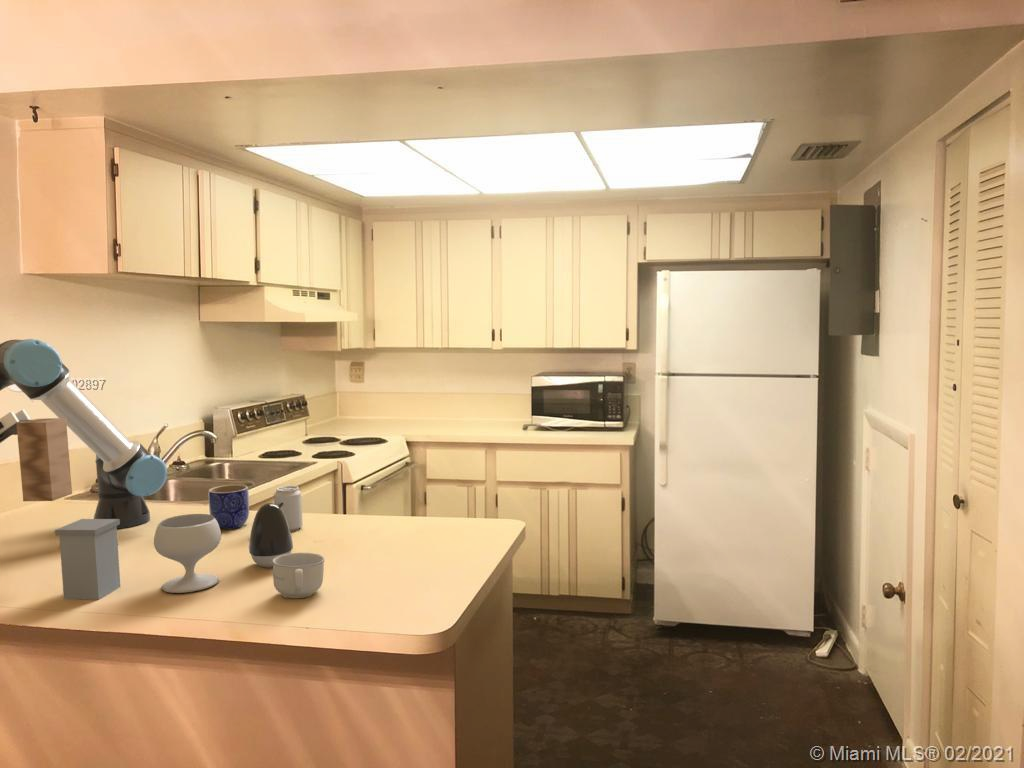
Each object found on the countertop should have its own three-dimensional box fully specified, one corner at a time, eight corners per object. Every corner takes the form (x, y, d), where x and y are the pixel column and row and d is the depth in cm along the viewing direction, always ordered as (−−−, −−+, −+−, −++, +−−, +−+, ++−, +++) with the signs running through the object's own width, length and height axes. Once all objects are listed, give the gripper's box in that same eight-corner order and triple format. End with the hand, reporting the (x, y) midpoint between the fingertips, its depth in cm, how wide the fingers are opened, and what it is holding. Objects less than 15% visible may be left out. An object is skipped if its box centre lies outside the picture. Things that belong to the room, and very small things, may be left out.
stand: (60, 599, 169) (55, 529, 168) (86, 585, 178) (81, 518, 176) (99, 600, 168) (94, 530, 167) (123, 586, 177) (119, 519, 176)
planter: (258, 524, 228) (256, 486, 227) (226, 533, 219) (224, 494, 218) (233, 519, 234) (231, 483, 233) (202, 528, 225) (200, 490, 224)
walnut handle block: (-15, 501, 178) (-23, 423, 177) (7, 494, 185) (0, 419, 184) (52, 501, 177) (45, 422, 175) (72, 493, 184) (65, 418, 182)
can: (295, 533, 218) (293, 490, 217) (270, 532, 220) (268, 490, 219) (307, 525, 225) (305, 485, 224) (283, 525, 227) (281, 484, 226)
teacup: (280, 586, 175) (278, 551, 174) (329, 584, 176) (327, 549, 175) (265, 609, 161) (263, 571, 160) (319, 607, 162) (317, 569, 161)
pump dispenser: (302, 559, 194) (299, 499, 193) (276, 572, 184) (273, 509, 183) (267, 556, 197) (264, 497, 196) (241, 568, 188) (237, 506, 186)
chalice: (196, 571, 186) (193, 509, 185) (236, 580, 179) (233, 516, 178) (143, 589, 174) (139, 524, 173) (184, 600, 167) (179, 531, 166)
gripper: (-22, 473, 190) (53, 424, 187) (-77, 488, 174) (4, 434, 171) (-39, 447, 190) (36, 397, 187) (-96, 459, 174) (-15, 405, 171)
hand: (20, 415), depth 179 cm, fingers closed on walnut handle block, 3 cm apart
